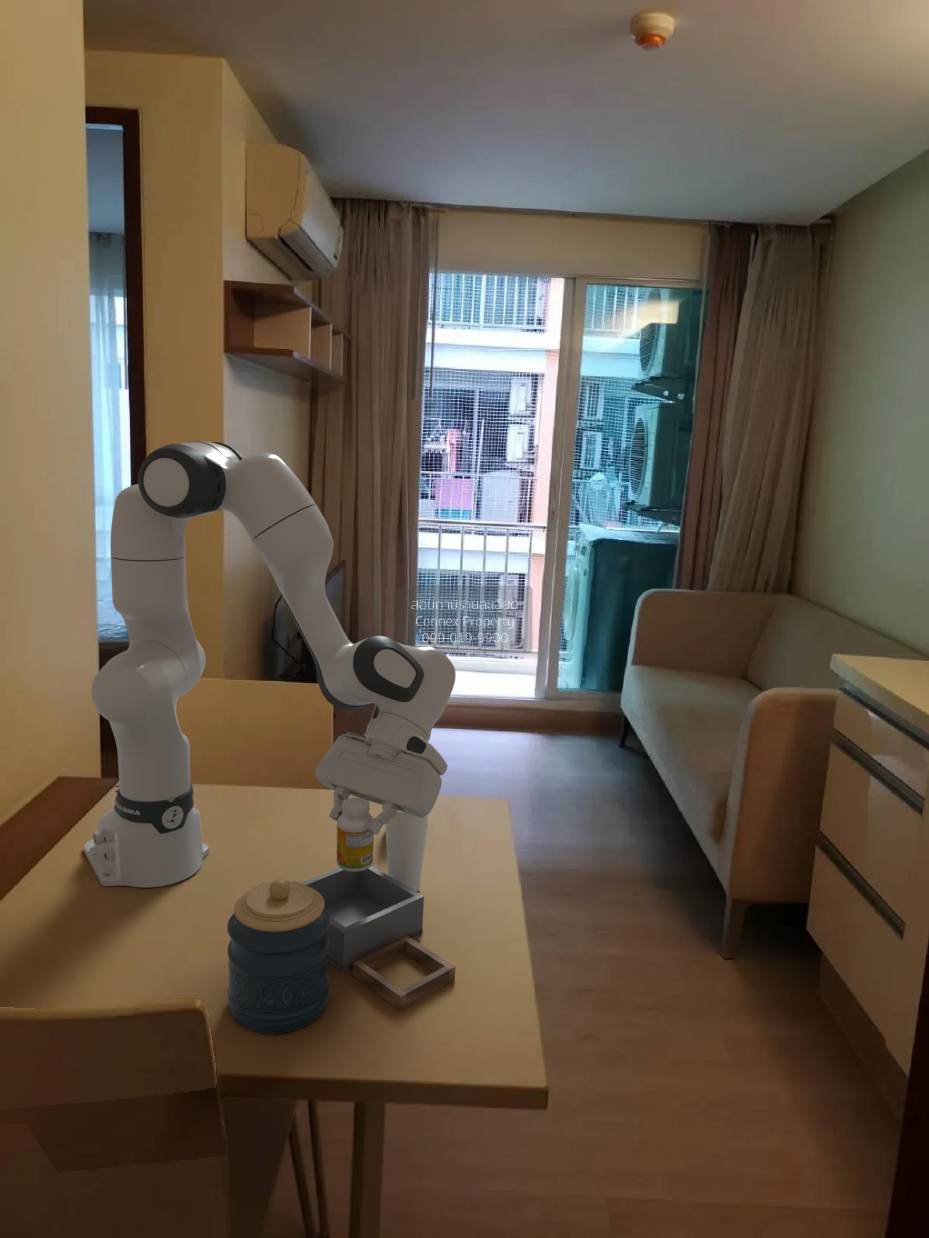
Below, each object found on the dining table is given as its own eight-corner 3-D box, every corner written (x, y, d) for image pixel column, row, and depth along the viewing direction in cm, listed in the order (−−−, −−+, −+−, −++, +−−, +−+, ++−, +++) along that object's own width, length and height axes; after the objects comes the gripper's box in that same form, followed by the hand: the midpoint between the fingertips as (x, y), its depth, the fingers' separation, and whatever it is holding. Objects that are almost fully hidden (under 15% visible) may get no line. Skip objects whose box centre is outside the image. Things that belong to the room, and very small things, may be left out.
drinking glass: (418, 901, 141) (422, 815, 138) (378, 895, 143) (381, 809, 139) (428, 881, 148) (432, 798, 145) (390, 875, 149) (392, 793, 146)
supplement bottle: (338, 854, 133) (338, 795, 131) (373, 854, 133) (374, 795, 131) (335, 872, 128) (335, 810, 126) (372, 872, 128) (373, 810, 126)
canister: (325, 1036, 109) (327, 907, 106) (218, 1037, 108) (217, 907, 104) (332, 973, 122) (334, 856, 118) (237, 973, 121) (236, 855, 117)
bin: (281, 926, 132) (281, 890, 131) (359, 893, 143) (360, 859, 142) (343, 971, 122) (344, 932, 121) (422, 932, 133) (423, 896, 132)
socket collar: (352, 975, 122) (352, 962, 121) (406, 947, 129) (407, 935, 128) (400, 1010, 115) (401, 996, 114) (454, 979, 122) (455, 966, 121)
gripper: (333, 719, 138) (289, 798, 132) (441, 749, 127) (399, 836, 121) (351, 739, 142) (309, 815, 136) (457, 769, 132) (417, 853, 126)
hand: (352, 825), depth 129 cm, fingers closed on supplement bottle, 5 cm apart
